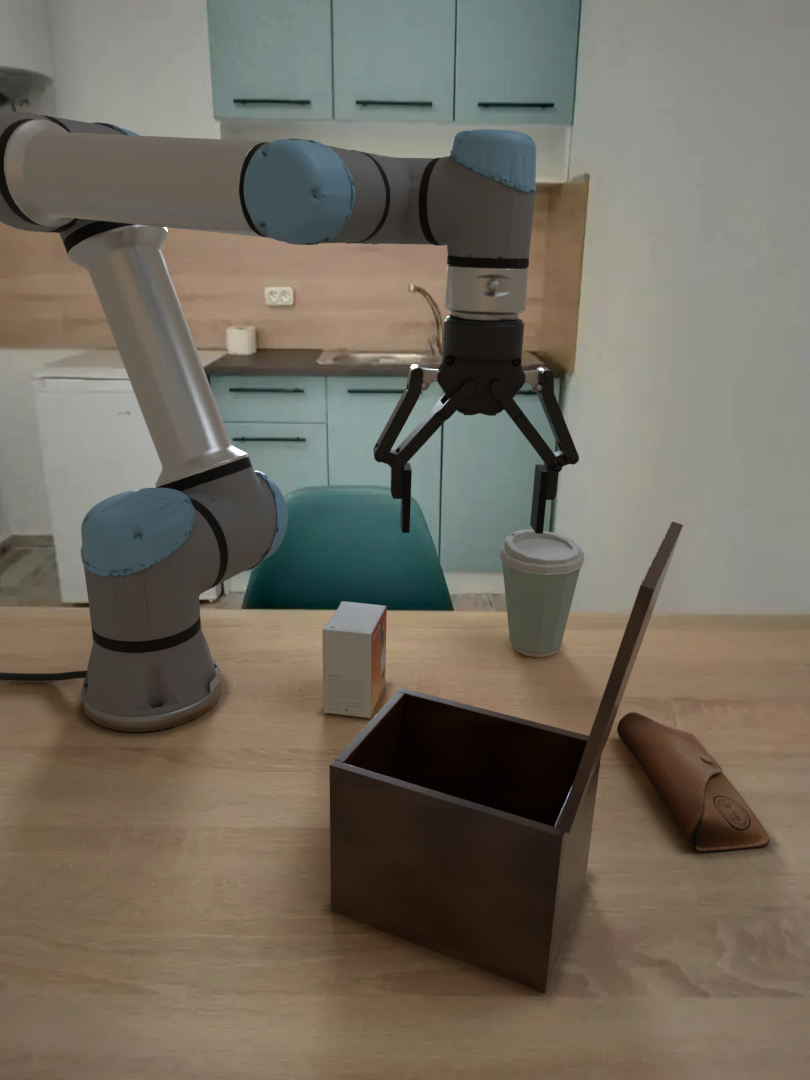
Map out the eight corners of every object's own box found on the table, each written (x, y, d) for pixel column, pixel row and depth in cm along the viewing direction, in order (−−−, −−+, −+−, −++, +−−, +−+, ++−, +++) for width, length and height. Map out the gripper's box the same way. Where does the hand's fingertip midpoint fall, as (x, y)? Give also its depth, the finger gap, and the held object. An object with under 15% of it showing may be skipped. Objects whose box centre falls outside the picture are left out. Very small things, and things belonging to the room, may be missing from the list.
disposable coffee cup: (587, 642, 111) (599, 537, 106) (555, 675, 102) (567, 563, 97) (515, 622, 116) (523, 521, 111) (479, 652, 108) (486, 544, 102)
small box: (370, 720, 92) (371, 635, 88) (322, 713, 93) (321, 629, 89) (386, 684, 99) (388, 604, 96) (341, 678, 100) (341, 599, 97)
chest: (330, 911, 66) (328, 765, 61) (397, 817, 77) (400, 687, 72) (545, 994, 59) (562, 837, 54) (585, 878, 70) (603, 739, 65)
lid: (640, 584, 47) (654, 589, 47) (671, 521, 58) (683, 524, 57) (557, 829, 54) (569, 834, 54) (598, 732, 65) (608, 736, 65)
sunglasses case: (779, 842, 74) (754, 791, 72) (709, 879, 74) (682, 830, 72) (688, 729, 91) (665, 685, 88) (631, 761, 91) (607, 717, 89)
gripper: (351, 315, 73) (349, 541, 80) (627, 322, 75) (600, 542, 82) (350, 307, 80) (348, 516, 87) (603, 314, 82) (580, 517, 89)
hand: (471, 529), depth 85 cm, fingers open, 13 cm apart
